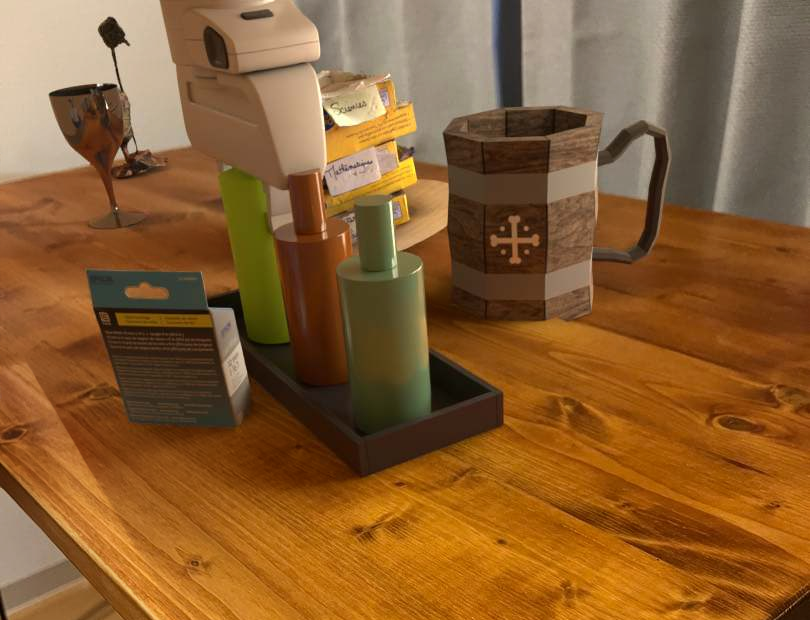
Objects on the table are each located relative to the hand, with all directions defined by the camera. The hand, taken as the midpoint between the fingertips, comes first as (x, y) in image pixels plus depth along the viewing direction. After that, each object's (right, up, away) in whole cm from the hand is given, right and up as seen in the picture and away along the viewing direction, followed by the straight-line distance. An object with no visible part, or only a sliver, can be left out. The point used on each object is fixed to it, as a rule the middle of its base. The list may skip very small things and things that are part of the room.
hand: (262, 225), depth 71 cm
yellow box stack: (+6, +8, +27) cm, 29 cm away
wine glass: (-25, +15, +41) cm, 50 cm away
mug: (+25, -3, +9) cm, 27 cm away
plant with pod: (-30, +30, +61) cm, 74 cm away
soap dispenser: (0, -7, +6) cm, 9 cm away
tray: (+6, -13, -1) cm, 14 cm away
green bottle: (+11, -17, -9) cm, 22 cm away
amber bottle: (+6, -12, -2) cm, 13 cm away
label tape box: (-4, -17, -5) cm, 18 cm away
